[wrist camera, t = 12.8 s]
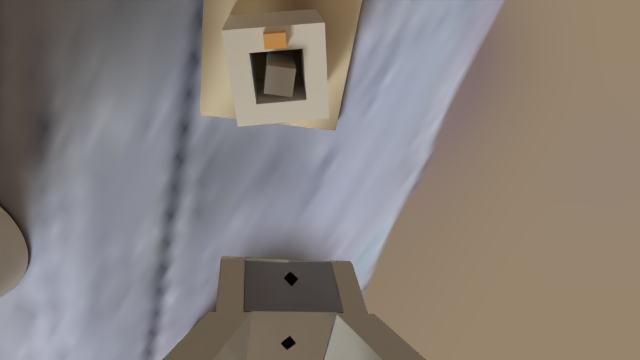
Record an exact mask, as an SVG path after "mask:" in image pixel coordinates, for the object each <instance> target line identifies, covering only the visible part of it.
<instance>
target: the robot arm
mask: <svg viewBox="0 0 640 360" xmlns="http://www.w3.org/2000/svg"><path fill="white" fill-rule="evenodd" d="M27 265H28V250H27V246H26V242H25V240H24V237H23V235H22V233H21V231H20V230H19V228H18V226H17V225H16V223H15V222H14V221H13V220H12V218H11V217H10V216H9V215H8V214H7V213H6V212H5V211H4V210H3V209H2V208H1V207H0V298H1V297H2V296H4V295H5V294H6V293H8V292H9V291H11V290H12V289H13V288H14V287H15V286H17V285H18V283H19V282H20V281H21V280H22V278H23V276H24V274H25V272H26V269H27ZM163 360H426V359H424V358H423V357H422V356H421V355H420V354H419V353H418V352H417V351H416V350H414V349H413V348H412V347H411V346H410V345H409V344H408V343H407V342H405V341H404V340H403V339H402V338H401V337H400V336H399V335H398V334H396V333H395V332H394V331H393V330H392V329H391V328H390V327H389V326H387V325H386V324H385V323H384V322H383V321H382V320H380V319H379V318H378V317H377V316H376V315H375V314H368V312H367V309H366V306H365V303H364V299H363V296H362V293H361V290H360V287H359V284H358V280H357V277H356V274H355V271H354V268H353V265H352V263H351V262H350V261H312V260H284V259H268V258H252V257H245V259H244V257H229V256H222V258H221V262H220V272H219V282H218V292H217V302H216V312H208V313H207V314H206V315H205V316H204V317H203V318H202V319H201V320H200V321H199V322H198V323H197V324H196V325H195V326H194V327H193V329H192V330H191V331H190V332H189V333H188V334H187V335H186V336H185V337H184V338H183V339H182V340H181V341H180V342H179V343H178V344H177V345H176V346H175V347H174V348H173V349H172V350H171V351H170V352H169V353H168V354H167V356H166V357H165V358H164V359H163Z"/></svg>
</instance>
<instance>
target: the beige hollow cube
mask: <svg viewBox="0 0 640 360" xmlns="http://www.w3.org/2000/svg"><path fill="white" fill-rule="evenodd" d="M221 31H222V37H223V43H224V49H225V55H226V60H227V66H228V72H229V78H230V84H231V90H232V96H233V101H234V107H235V113H236V119H237V125H238V127H239V126H250V125H261V124H271V123H282V122H293V121H304V120H315V119H326V118H329V105H328V83H327V61H326V39H325V22H324V21H323V19H322V18H321V16H320V15H319V13H318V11H317V10H316V9H307V10H294V11H280V12H267V13H253V14H240V15H229V16H228V18H227V20H226V22H225V24H224V26H223V28H222V30H221ZM293 49H299V57H300V70H301V76H295V81H294V88H293V95H292V97H287V96H279V95H272V94H264V79H258V74H257V67H256V59H255V53H256V52H268V51H281V50H293Z"/></svg>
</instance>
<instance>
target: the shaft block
mask: <svg viewBox="0 0 640 360" xmlns="http://www.w3.org/2000/svg"><path fill="white" fill-rule="evenodd" d="M361 4H362V0H203V32H202V68H201V104H200V115H207V116H215V117H224V118H232V119H236V113H235V107H234V101H233V96H232V90H231V84H230V78H229V72H228V66H227V60H226V55H225V49H224V43H223V37H222V31H221V30H222V28H223V26H224V24H225V22H226V20H227V18H228V16H229V15H240V14H253V13H267V12H280V11H294V10H307V9H316V10H317V11H318V13H319V15H320V16H321V18H322V19H323V21H324V22H325V39H326V61H327V83H328V105H329V118H326V119H315V120H304V121H293V122H282V123H275V124H284V125H292V126H301V127H309V128H318V129H326V130H336V125H337V121H338V116H339V111H340V106H341V101H342V96H343V91H344V86H345V82H346V77H347V72H348V67H349V62H350V57H351V52H352V48H353V43H354V38H355V33H356V28H357V23H358V18H359V13H360V9H361ZM255 59H256V67H257V74H258V79H264V94H272V95H279V96H287V97H292V95H293V88H294V81H295V76H301V70H300V57H299V49H293V50H281V51H268V52H256V53H255Z"/></svg>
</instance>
